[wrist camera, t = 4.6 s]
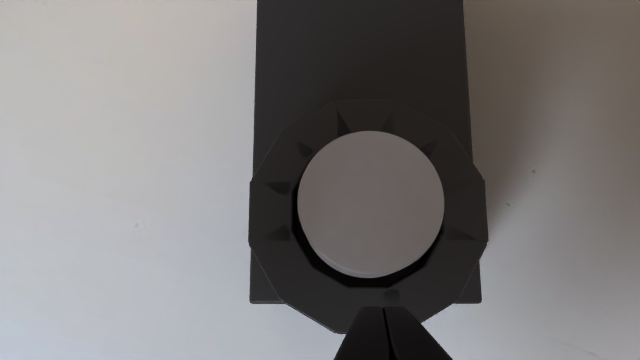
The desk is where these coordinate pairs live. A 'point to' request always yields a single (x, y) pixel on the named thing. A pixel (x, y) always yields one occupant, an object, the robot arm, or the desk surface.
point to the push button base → (355, 116)
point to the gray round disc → (370, 204)
